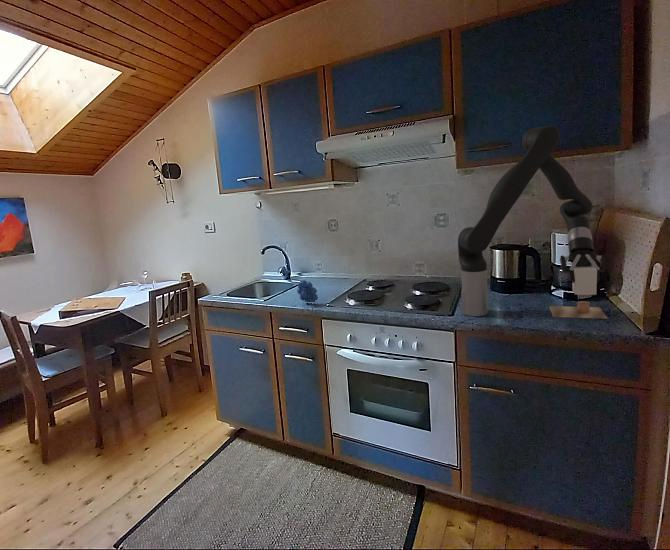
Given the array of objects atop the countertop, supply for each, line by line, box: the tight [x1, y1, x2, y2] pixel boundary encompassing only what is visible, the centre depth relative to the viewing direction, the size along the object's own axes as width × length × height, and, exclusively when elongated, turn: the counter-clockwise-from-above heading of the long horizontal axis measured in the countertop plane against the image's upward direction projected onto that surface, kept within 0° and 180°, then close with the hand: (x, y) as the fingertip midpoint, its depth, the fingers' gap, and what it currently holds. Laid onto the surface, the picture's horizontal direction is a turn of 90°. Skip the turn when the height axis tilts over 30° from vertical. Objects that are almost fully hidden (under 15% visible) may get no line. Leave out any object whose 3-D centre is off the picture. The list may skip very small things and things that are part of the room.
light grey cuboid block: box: [571, 266, 598, 296], centre depth 134 cm, size 6×6×8 cm
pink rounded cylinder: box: [576, 300, 591, 314], centre depth 136 cm, size 4×4×4 cm
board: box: [549, 305, 609, 319], centre depth 137 cm, size 16×13×1 cm
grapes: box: [296, 279, 319, 303], centre depth 185 cm, size 12×7×12 cm, turn 58°
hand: (585, 281), depth 133 cm, fingers closed on light grey cuboid block, 6 cm apart
